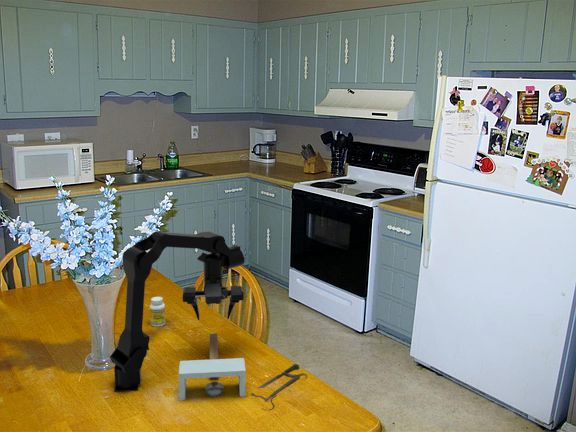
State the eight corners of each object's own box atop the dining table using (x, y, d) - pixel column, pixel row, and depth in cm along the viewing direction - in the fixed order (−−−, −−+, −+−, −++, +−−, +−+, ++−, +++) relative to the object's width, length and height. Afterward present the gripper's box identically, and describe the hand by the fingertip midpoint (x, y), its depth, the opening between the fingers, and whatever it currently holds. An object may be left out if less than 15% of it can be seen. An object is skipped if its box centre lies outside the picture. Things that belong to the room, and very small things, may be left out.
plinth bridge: (179, 400, 149) (178, 373, 147) (180, 386, 156) (180, 360, 154) (245, 396, 152) (245, 370, 150) (243, 383, 158) (243, 358, 156)
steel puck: (205, 398, 151) (205, 392, 150) (205, 388, 155) (205, 382, 155) (223, 397, 151) (223, 391, 151) (223, 387, 156) (223, 381, 156)
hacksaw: (295, 366, 169) (295, 361, 169) (322, 378, 163) (322, 373, 163) (240, 398, 151) (240, 394, 151) (268, 413, 145) (268, 408, 145)
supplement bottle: (163, 319, 198) (162, 294, 196) (167, 325, 194) (166, 300, 191) (148, 322, 196) (147, 297, 194) (152, 328, 191) (151, 302, 189)
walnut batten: (209, 381, 159) (209, 365, 158) (209, 347, 179) (209, 333, 178) (218, 380, 160) (218, 365, 159) (217, 347, 180) (217, 333, 178)
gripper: (181, 282, 160) (182, 331, 164) (244, 281, 163) (244, 329, 167) (182, 269, 171) (183, 315, 175) (242, 268, 173) (242, 314, 177)
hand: (213, 319), depth 173 cm, fingers open, 9 cm apart
